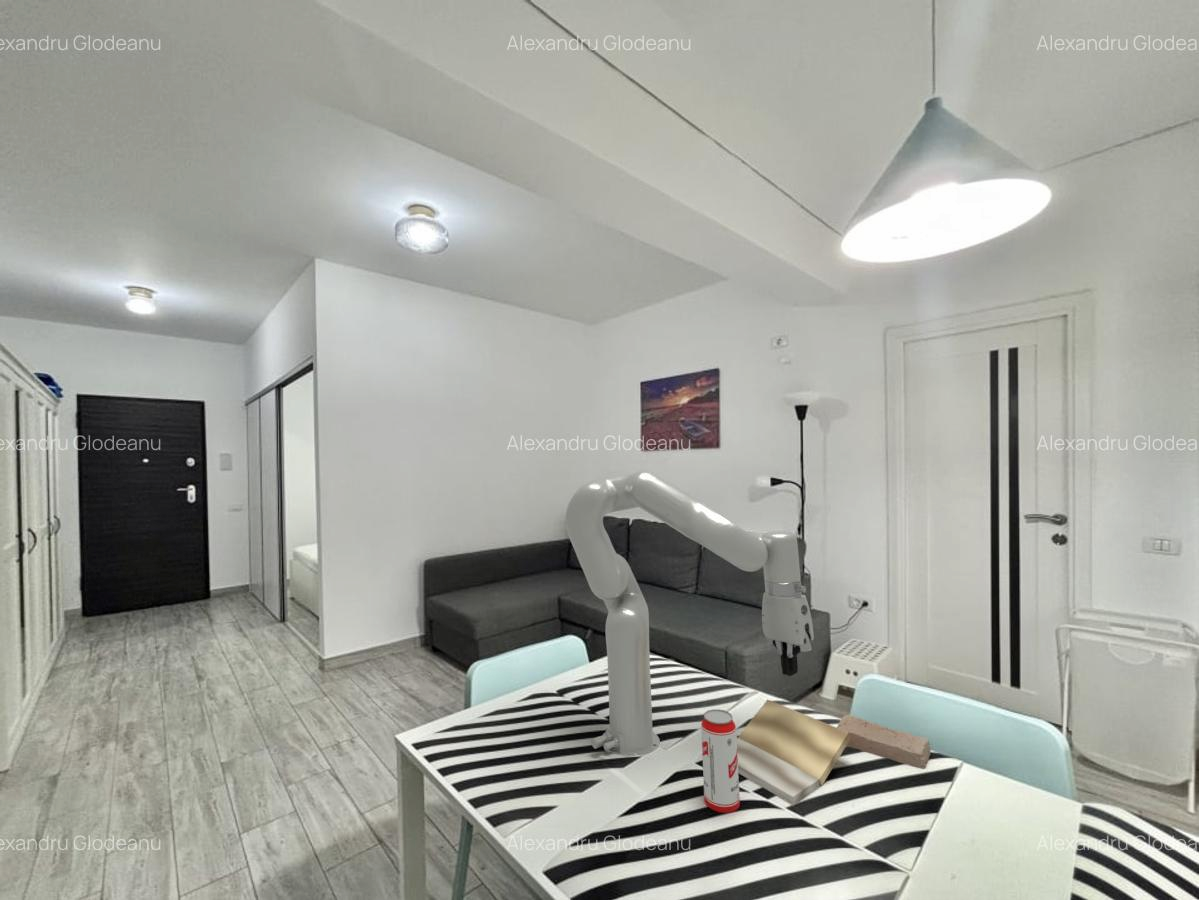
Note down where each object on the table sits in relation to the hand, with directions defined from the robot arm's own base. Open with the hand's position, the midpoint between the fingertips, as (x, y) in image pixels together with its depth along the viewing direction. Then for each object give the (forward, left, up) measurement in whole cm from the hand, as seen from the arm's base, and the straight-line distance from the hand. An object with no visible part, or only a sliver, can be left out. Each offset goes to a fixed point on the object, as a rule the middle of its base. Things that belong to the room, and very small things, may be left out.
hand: (790, 673), depth 107 cm
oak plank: (-3, -2, -12) cm, 13 cm away
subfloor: (-6, -2, -16) cm, 17 cm away
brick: (+14, -12, -17) cm, 25 cm away
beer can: (-26, -3, -16) cm, 31 cm away
